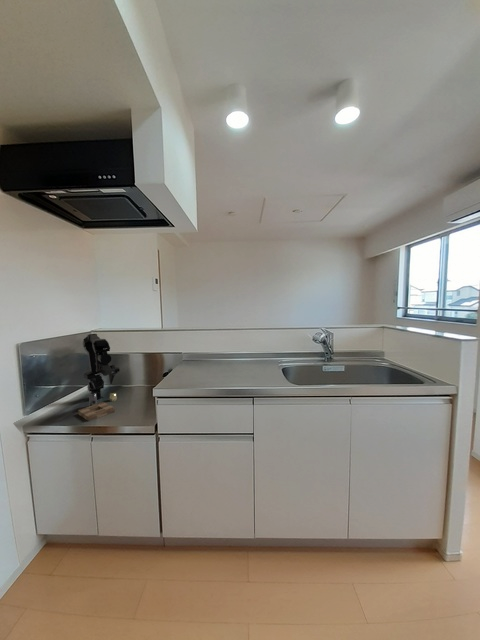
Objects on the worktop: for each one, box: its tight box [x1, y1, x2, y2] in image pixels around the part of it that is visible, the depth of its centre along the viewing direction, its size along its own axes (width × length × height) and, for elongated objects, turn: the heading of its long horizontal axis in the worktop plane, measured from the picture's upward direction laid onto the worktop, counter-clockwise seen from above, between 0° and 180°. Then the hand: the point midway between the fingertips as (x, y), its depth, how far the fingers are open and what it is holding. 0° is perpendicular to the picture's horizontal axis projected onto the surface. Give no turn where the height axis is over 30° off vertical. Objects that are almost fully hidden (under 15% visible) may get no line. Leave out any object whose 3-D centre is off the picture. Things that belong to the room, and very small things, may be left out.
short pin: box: [109, 392, 118, 402], centre depth 168 cm, size 4×4×4 cm
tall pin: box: [88, 392, 98, 407], centre depth 159 cm, size 4×4×8 cm
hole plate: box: [77, 401, 115, 422], centre depth 150 cm, size 14×14×2 cm
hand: (103, 386), depth 156 cm, fingers open, 9 cm apart
